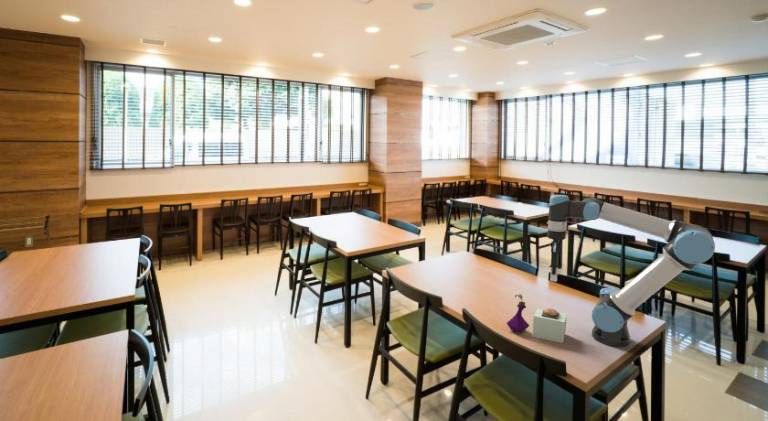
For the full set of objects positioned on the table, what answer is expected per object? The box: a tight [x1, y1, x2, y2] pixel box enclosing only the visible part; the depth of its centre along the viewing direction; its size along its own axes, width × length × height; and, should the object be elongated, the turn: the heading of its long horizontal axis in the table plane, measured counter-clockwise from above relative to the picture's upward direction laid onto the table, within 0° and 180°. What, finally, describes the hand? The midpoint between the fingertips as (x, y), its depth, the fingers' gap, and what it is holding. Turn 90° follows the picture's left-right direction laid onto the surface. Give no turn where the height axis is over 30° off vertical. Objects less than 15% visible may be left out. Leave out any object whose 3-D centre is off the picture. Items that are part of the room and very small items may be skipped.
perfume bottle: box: [506, 293, 530, 334], centre depth 188 cm, size 8×8×18 cm
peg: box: [543, 308, 558, 317], centre depth 184 cm, size 6×6×10 cm
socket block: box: [532, 308, 568, 344], centre depth 184 cm, size 13×10×11 cm
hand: (553, 280), depth 181 cm, fingers closed
